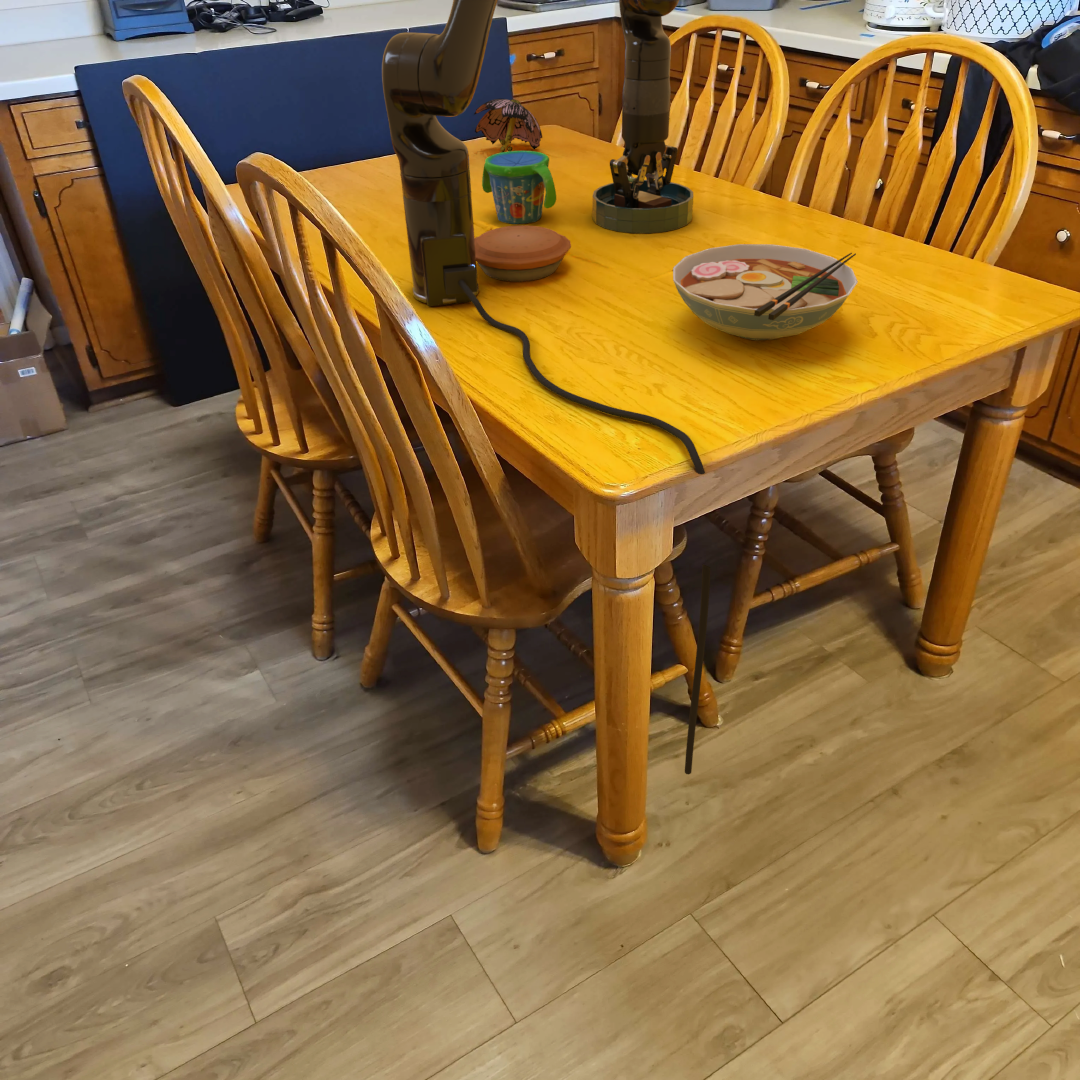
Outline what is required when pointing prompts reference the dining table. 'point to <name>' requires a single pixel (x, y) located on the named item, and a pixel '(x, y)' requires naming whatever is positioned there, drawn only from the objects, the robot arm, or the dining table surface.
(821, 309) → the ramen bowl
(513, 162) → the snack cup
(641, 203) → the oat bar
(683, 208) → the snack bowl
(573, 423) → the dining table surface
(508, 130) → the decorative flower
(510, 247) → the pie
